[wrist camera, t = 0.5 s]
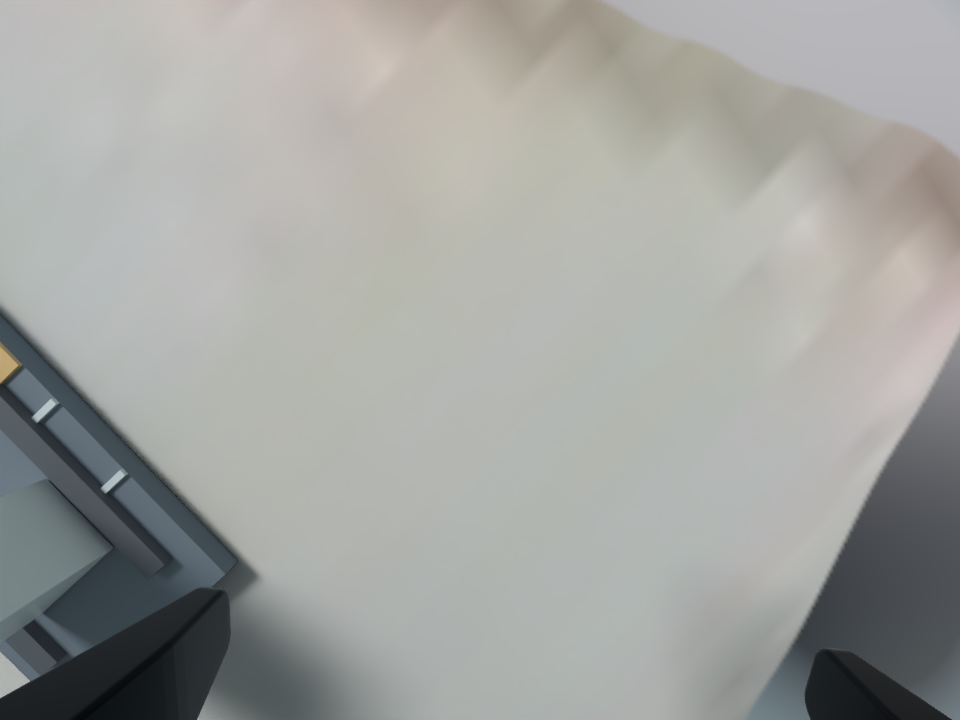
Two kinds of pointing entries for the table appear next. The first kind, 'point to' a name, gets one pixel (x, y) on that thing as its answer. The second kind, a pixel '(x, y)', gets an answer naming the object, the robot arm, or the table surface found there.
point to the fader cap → (41, 552)
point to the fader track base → (94, 513)
